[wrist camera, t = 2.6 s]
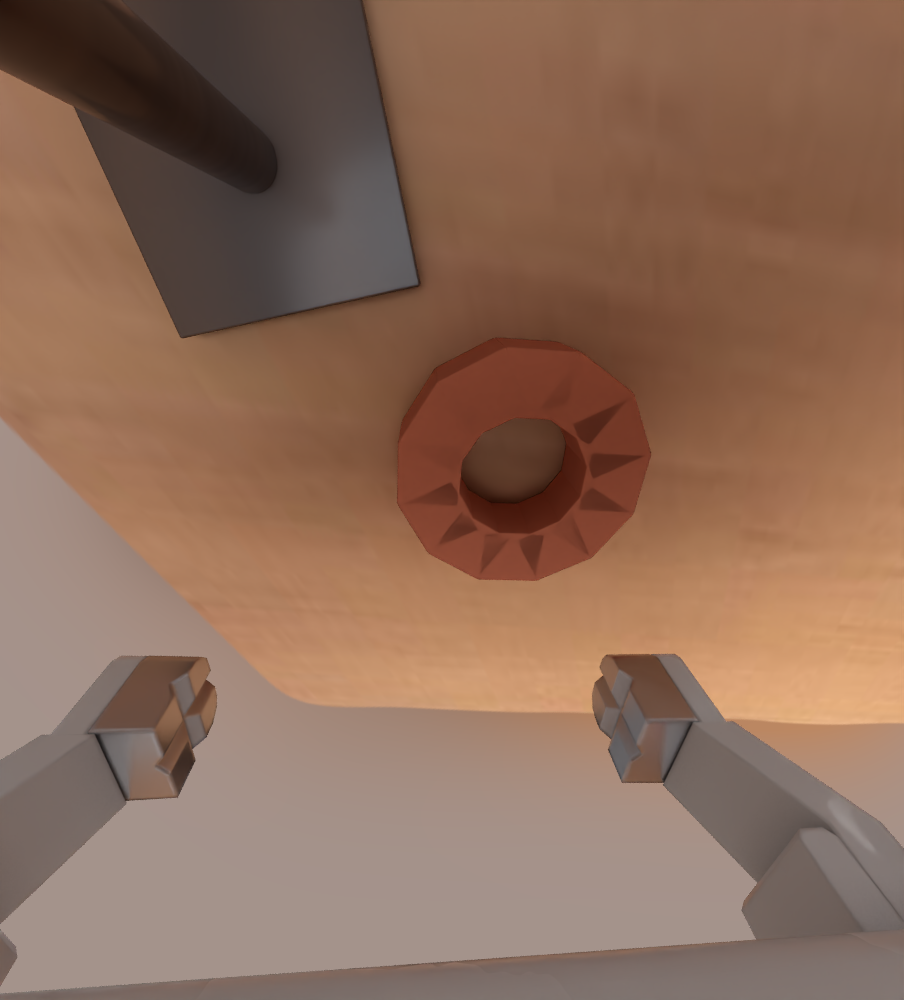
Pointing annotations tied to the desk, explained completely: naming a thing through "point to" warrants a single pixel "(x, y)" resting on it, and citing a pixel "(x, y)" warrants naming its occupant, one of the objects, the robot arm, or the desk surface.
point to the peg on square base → (231, 145)
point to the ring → (569, 497)
